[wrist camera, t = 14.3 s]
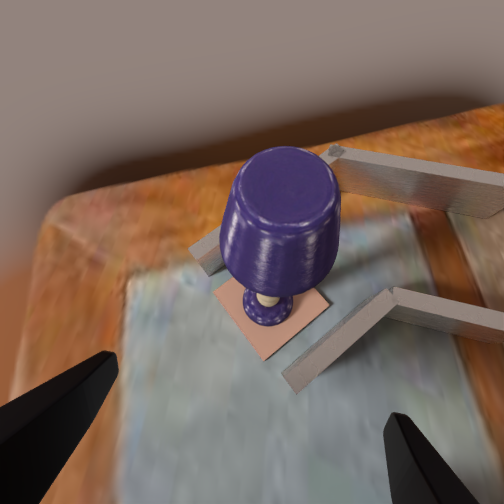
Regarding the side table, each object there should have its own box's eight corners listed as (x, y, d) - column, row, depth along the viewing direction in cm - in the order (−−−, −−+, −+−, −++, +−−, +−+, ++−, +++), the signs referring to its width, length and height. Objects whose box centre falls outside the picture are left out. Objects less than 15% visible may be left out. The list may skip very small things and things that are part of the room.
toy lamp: (278, 263, 24) (298, 95, 8) (312, 307, 22) (410, 200, 7) (233, 294, 23) (161, 171, 8) (264, 341, 22) (255, 308, 6)
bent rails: (557, 328, 21) (628, 322, 17) (220, 401, 21) (207, 413, 17) (452, 150, 28) (484, 113, 23) (192, 202, 27) (178, 174, 23)
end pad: (263, 361, 22) (263, 361, 21) (213, 292, 24) (212, 291, 23) (328, 305, 23) (329, 305, 22) (275, 246, 25) (275, 244, 25)
